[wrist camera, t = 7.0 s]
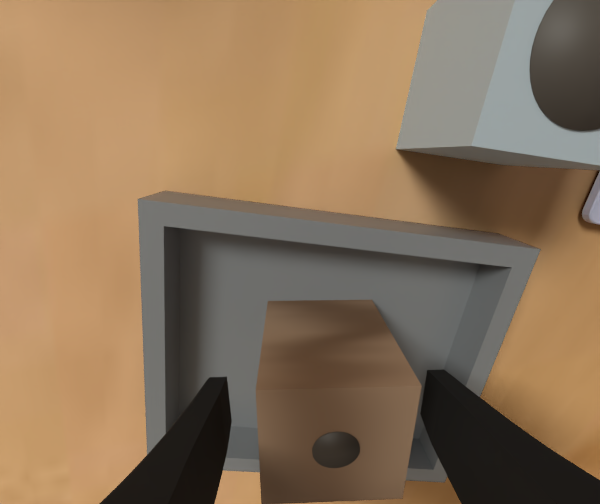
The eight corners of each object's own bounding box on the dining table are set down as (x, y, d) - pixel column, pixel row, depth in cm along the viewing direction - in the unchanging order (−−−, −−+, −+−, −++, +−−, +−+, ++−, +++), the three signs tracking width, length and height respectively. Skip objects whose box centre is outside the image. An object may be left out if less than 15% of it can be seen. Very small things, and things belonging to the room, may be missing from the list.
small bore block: (371, 299, 13) (422, 387, 8) (364, 383, 14) (403, 500, 9) (267, 300, 13) (255, 391, 8) (270, 385, 14) (261, 506, 9)
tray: (498, 233, 13) (540, 249, 11) (424, 440, 16) (444, 482, 14) (165, 190, 12) (137, 198, 9) (166, 423, 15) (147, 466, 13)
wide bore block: (547, 34, 10) (768, -68, 6) (502, 165, 12) (649, 172, 7) (426, 11, 10) (551, -118, 5) (395, 149, 11) (472, 145, 7)
